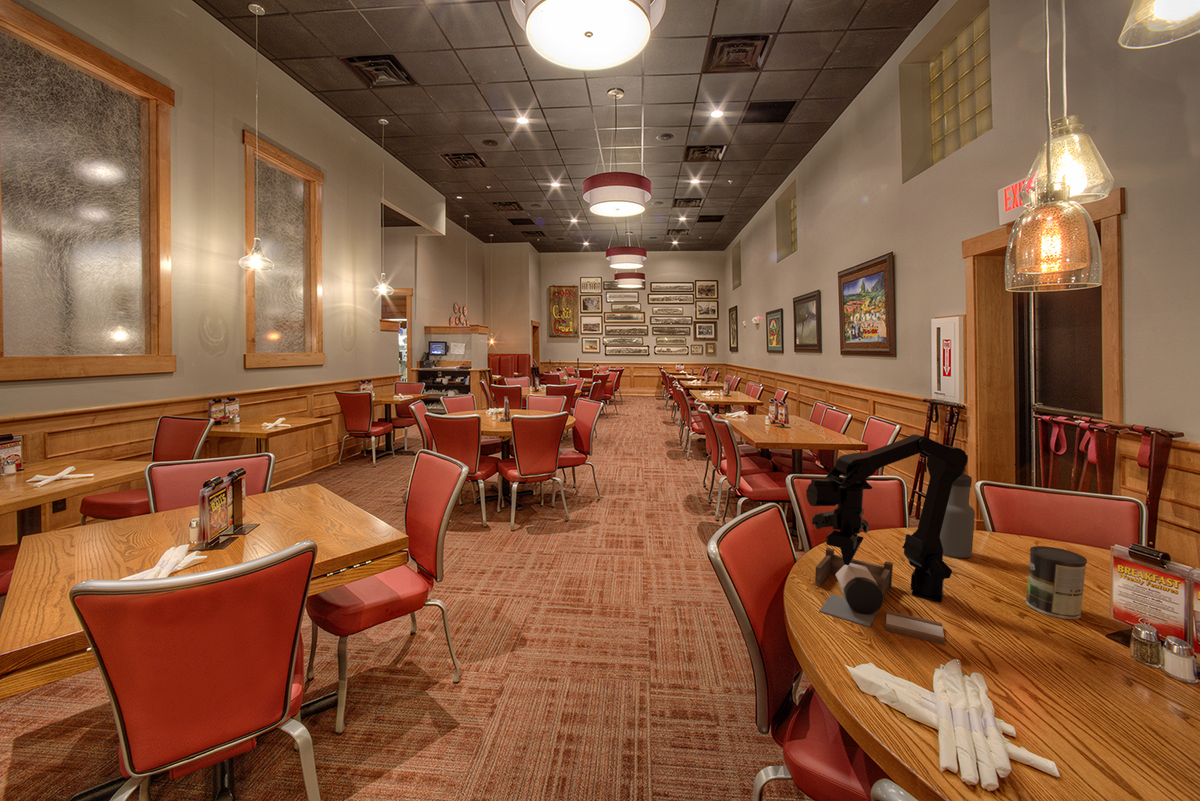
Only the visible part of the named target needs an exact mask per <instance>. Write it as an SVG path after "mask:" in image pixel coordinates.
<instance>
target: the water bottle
mask: <svg viewBox="0 0 1200 801" xmlns="http://www.w3.org/2000/svg"><path fill="white" fill-rule="evenodd" d="M966 469H967V468H966V467H965V469H964V471H963V473H962V475H961V476H960V477H958V478H957V479H956V480H955V481H954V482H953V485H952V489H951V493H950V497H949V501H948V505H947V509H946V513H945V517H944V521H943V525H942V529H941V533H940V540H941V543H942V547H943V556H946V557H950V558H954V559H955V558H956V559H967V558H970V557H971V556H972V555H973V548H974V547H973V545H974V543H973V542H974V533H975V532H974V531H975V518H976V513H975V511H976V510H975V509H974V508H973V507H972V506H970V499H971V498H970V494H971V488H972V478H973V477H971V476H970V475H969V474H965V473H966Z"/></svg>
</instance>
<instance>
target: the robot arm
mask: <svg viewBox="0 0 1200 801" xmlns="http://www.w3.org/2000/svg"><path fill="white" fill-rule="evenodd" d="M919 454H920V455H921V456H923V457H926V467H927V470H928V471H927V472H928V474H929V481H928V484H927V487H926V488H927V489H926V494H925V496H924V501H923V506H922V508H921V513H920V514H921V515H920V517H919V522H918V526H917V529H916V530H915V531H914V532H913V533H912V534H909V533H906V534H905V538H904V539H905V540H904V543H903V545H902V549H903V554H904V556H905V557H906V559H907V560H908V564H909V565H910V566H911V567H913V568H914V570H913V571H912V573H911V576H910V590H911V595H912V596H914V597H920V598H923V599H928V600H931V601H935V602H938V603H942V601H943V598H944V580H946V579H950V577H951V576H952V573H953V569H951V568H950V567H949V565H948V564H947V563H946V562H945V561H944V560H943V558H944V555H943V547H942V543H941V540H940V533H941V529H942V525H943V521H944V517H945V513H946V509H947V505H948V501H949V497H950V493H951V489H952V485H953V482H954V481H955V480H956V479H957V478H958V477H960V476H961V475H962V473H963V471H964V469H965V468H966V466H967V464H968V461H969V460H968V459H969V458H968V454H966V452H965V450H963V449H962V448H959V447H954V446H952V445H946V444H943V443H939V442H937V441H935V440H933V439H931V438H929V437H928V436H925V435H920V434H915V433H914V434H910V435H909V436H908V437H906V438H903V439H900V440H897V441H894V442H891V443H890V444H886V445H884V446H881V447H878V448H876V449H873V450H870V451H864V452H854V453H847V454H843V455H840V456H839V457H838V458H837V459H836V462H835V464H834V466H833V467H832V469H830V471H829V472H828V474H827V475H826V476H825V479H819V478H811V480H810V483H809V484H808V485H807V489H806V490H805V493H806V494H805V495H806V500H807V502H808V504H809V506H811V507H835V506H836V505H837V507H836V508H834V510H832V511H823V512H818V513H815V514H814V515H813V516H812V521H811V523H812V525H814V526H815V529H816V530H821V529H822V528H830V527H832V531H831V532H830V533H829V534H828V535H826V539H825V541H826V542H825V543H826V545H827V546H831V547H835V548H839V550H840V552H841V556H842V557H843V561H844V564H845V565H849V564H850V563H851V561H852V559H854V557H855V555H856V553H857V552H858V550H859V547H860V546H861V544H862V542H863V540H864V537H863V536H860V535H859V534H860V533H861V532H862V531H863V532H864V533H865V534H867V533H868V532H869V530H870V523H869V521H868V520H866V519H863V515H864V513H865V509H864V508H863V504H864V503H863V502H864V501H863V500H864V490H872V489H873V486H872V485H871V484H870V483H868V481H867V480H866V479H868V478H870V477H872V476H873V475H874V474H875V473H876V472H877V471H878V470H879V469H881V468H883V467H886V466H888V465H892V464H894V463H896V462H900V461H901V460H906V459H907V458H910V457H913V456H916V455H919Z"/></svg>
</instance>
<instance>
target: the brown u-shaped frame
mask: <svg viewBox="0 0 1200 801" xmlns="http://www.w3.org/2000/svg"><path fill="white" fill-rule="evenodd" d="M851 563H853V564H857V565H862V566H866V567H867V569H868V570H869V572H870V573H871V575H872V576H873V578H874V579H875V581H876V583H877V586H878V587H879V589H880V590H881V591H882V594H883V600H884V599H885V597H886V595H887V593H888V591H889V589H890V588H891V589H892V586H893V585H892V583H893V567H894V562H890V561H884V563H883V565H880V564H876V563H872V562H867V561H864V560H860V559H854V558H853V559H852V561H851ZM844 565H845V564H844V561H843V557H842V555H838V554H835V548H834V549H833V548H829V547H827V548H826V549H825V556H824V557H823V558H822V560H820V561H819V562H818V564H817V565H816V566H815V575H814V576H815V577H814V578H815V579H814V581H815V582H814V585H815V586H818V587H821V585H822V584H823V583H824V582H825V580H826V579H827V578H828V577H829V575H830V574H835V573H837V572H838V571H839V570H840V569H841V568H842V567H843V566H844ZM830 572H831V573H830ZM826 577H827V578H826Z"/></svg>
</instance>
